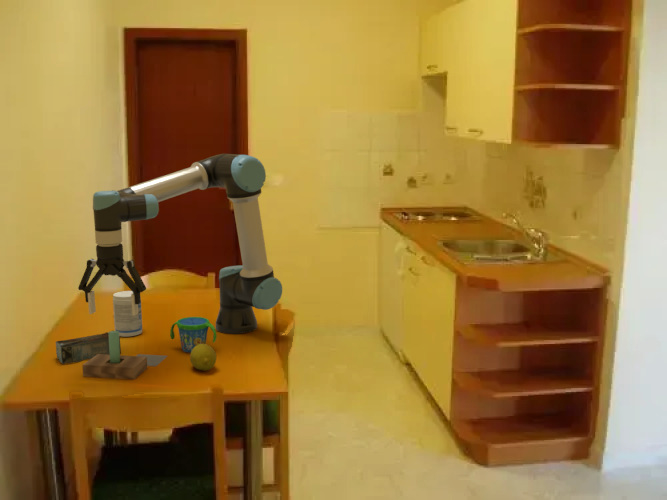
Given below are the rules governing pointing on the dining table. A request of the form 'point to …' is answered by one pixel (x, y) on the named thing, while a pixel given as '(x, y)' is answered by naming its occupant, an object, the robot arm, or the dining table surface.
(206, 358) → the lemon
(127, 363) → the block
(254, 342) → the dining table surface
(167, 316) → the dining table surface
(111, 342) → the peg
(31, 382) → the dining table surface
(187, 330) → the snack cup
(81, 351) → the beverage carton
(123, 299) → the supplement tub
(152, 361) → the mat
